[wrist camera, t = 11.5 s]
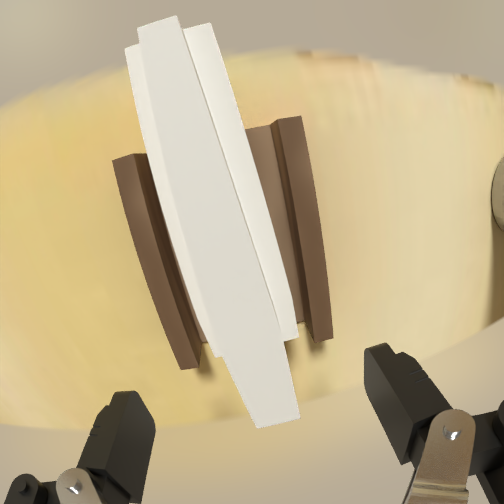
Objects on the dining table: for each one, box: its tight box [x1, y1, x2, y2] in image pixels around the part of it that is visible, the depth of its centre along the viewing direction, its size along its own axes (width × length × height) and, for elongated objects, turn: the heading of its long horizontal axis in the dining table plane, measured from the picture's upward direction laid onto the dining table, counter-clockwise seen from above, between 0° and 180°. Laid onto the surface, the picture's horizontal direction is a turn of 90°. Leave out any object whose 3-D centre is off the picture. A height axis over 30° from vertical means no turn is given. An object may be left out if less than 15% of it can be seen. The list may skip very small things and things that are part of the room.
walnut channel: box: [112, 116, 333, 370], centre depth 22 cm, size 12×16×4 cm
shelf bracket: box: [125, 16, 300, 428], centre depth 19 cm, size 6×25×13 cm, turn 14°
